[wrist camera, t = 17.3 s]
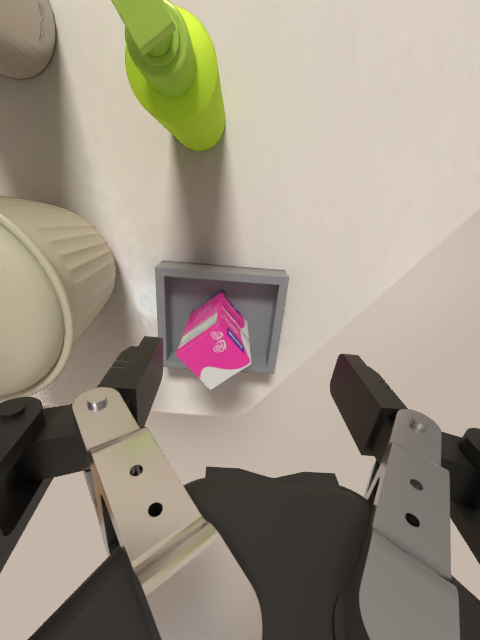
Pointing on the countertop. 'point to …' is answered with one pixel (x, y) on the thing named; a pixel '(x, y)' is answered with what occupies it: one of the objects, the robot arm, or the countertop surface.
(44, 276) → the canister
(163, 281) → the tray
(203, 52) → the soap dispenser
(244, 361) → the supplement box
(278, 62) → the countertop surface
